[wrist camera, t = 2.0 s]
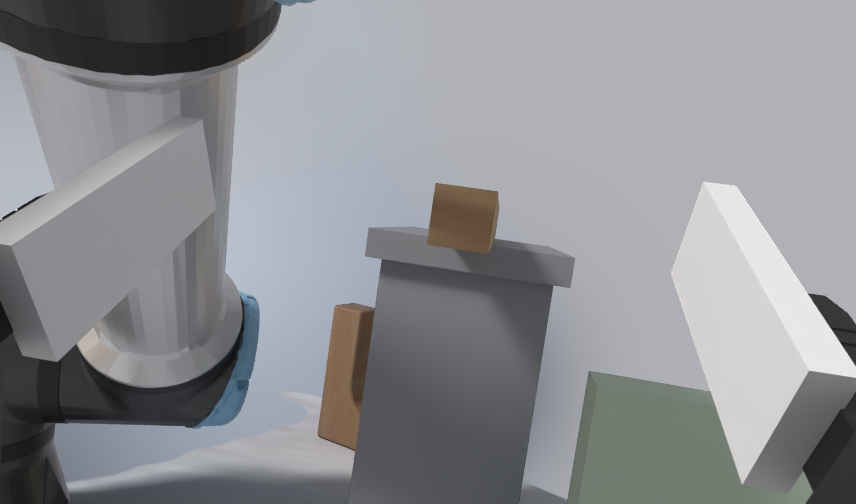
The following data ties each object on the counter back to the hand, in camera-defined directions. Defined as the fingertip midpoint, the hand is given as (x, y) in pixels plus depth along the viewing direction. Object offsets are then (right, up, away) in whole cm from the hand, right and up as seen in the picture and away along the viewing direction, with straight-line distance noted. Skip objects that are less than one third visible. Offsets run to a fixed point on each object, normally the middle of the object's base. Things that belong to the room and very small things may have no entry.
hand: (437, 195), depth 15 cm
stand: (0, -30, +35) cm, 46 cm away
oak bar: (+3, -1, +26) cm, 26 cm away
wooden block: (-10, -27, +61) cm, 67 cm away
